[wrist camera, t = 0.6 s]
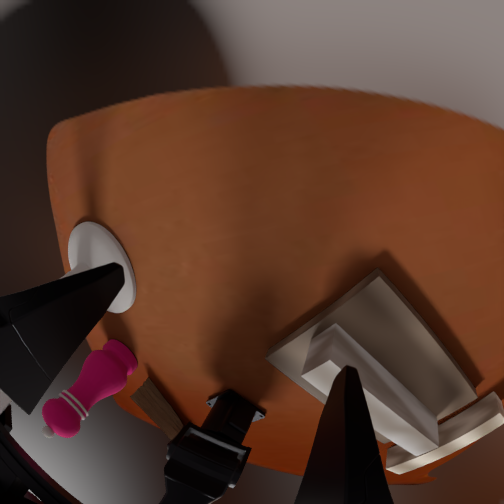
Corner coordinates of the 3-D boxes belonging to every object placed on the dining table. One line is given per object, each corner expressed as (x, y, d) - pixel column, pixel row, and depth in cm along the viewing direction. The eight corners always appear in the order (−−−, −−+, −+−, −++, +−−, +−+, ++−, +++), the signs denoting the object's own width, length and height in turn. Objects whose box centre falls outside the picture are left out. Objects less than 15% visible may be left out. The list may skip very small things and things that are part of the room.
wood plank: (143, 376, 40) (126, 395, 36) (151, 377, 39) (134, 397, 35) (186, 430, 44) (174, 449, 40) (194, 432, 43) (182, 451, 39)
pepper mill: (109, 356, 41) (38, 429, 24) (104, 328, 38) (18, 407, 21) (142, 377, 40) (71, 460, 23) (138, 350, 37) (53, 443, 19)
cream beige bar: (400, 453, 30) (399, 474, 26) (387, 447, 30) (385, 469, 26) (500, 399, 21) (506, 421, 17) (493, 389, 21) (499, 412, 17)
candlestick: (148, 268, 29) (-62, 451, 3) (124, 326, 35) (-16, 464, 10) (79, 201, 29) (-119, 316, 3) (68, 268, 36) (-74, 373, 10)
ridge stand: (384, 435, 28) (381, 471, 23) (268, 348, 28) (249, 391, 23) (475, 388, 21) (484, 427, 16) (377, 267, 21) (383, 309, 15)
